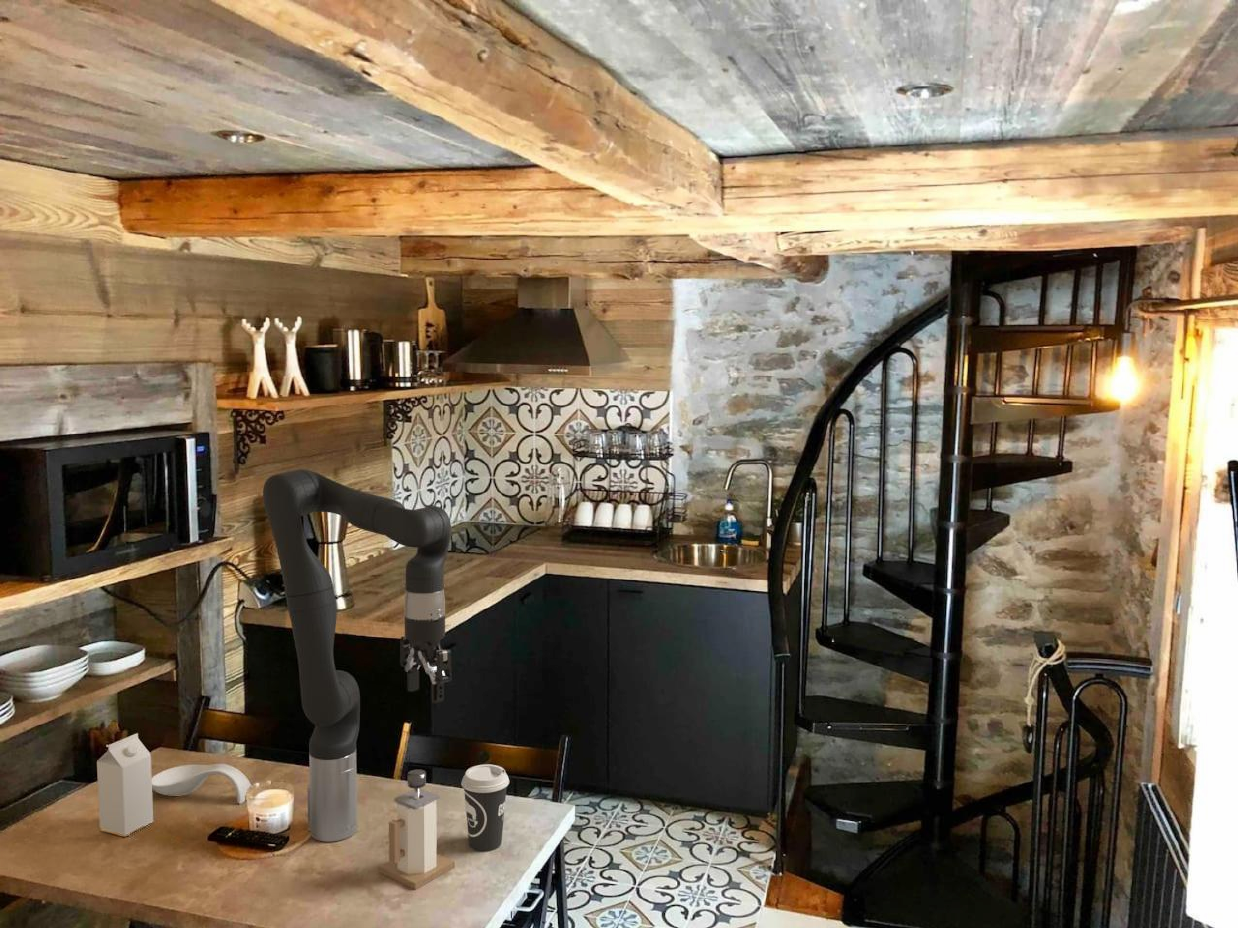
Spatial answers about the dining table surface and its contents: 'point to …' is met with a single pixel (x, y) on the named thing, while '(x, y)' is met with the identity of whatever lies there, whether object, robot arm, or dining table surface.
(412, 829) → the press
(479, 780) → the coffee cup
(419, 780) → the plunger
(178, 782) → the spoon rest
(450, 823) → the dining table surface
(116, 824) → the milk carton
